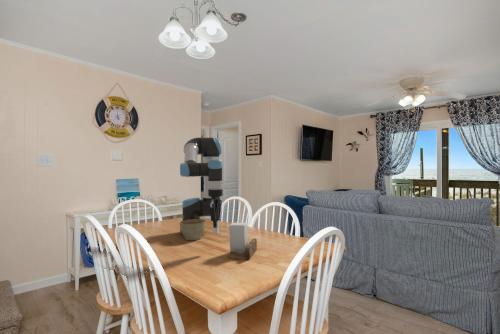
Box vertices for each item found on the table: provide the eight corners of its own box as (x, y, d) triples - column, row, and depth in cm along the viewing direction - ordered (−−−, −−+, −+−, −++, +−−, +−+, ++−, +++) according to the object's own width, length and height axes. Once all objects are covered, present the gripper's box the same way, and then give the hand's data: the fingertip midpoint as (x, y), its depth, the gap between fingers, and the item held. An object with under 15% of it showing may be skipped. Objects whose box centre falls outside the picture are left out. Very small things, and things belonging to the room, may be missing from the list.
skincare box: (248, 252, 144) (248, 222, 144) (245, 256, 138) (244, 225, 138) (233, 251, 147) (233, 222, 146) (229, 255, 140) (228, 224, 140)
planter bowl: (208, 235, 180) (208, 218, 180) (202, 242, 164) (201, 224, 164) (184, 235, 181) (184, 218, 181) (175, 242, 165) (175, 224, 165)
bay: (238, 248, 151) (238, 237, 151) (256, 249, 148) (256, 238, 148) (229, 258, 135) (229, 246, 135) (249, 260, 133) (249, 247, 133)
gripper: (217, 190, 138) (218, 237, 139) (226, 187, 150) (226, 230, 151) (203, 190, 140) (204, 236, 140) (213, 187, 152) (213, 229, 153)
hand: (215, 233), depth 146 cm, fingers closed
